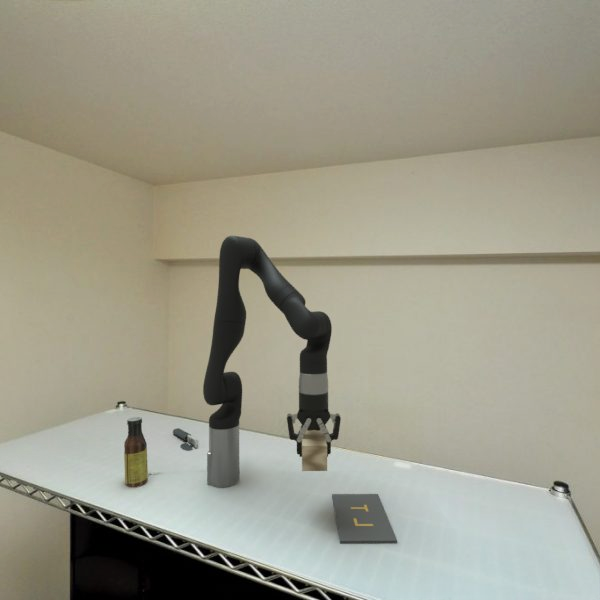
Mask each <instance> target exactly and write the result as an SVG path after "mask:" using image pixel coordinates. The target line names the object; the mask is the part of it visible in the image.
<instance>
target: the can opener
mask: <svg viewBox="0 0 600 600" xmlns="http://www.w3.org/2000/svg"><path fill="white" fill-rule="evenodd" d="M172 433H173V434H174V435H175V436H177V437H178V438H180V439H183V441H184V442H183V443H181V444H180V449H181V450H183V451H187V452H190V451H193V450H194V449H198V448H199V439H197V438H195V437H193V436H192V434H190V433H189V432H187V431H185V430H183V429H182V428H179V427H177V428H174V429H173V430H172ZM193 448H194V449H193Z"/></svg>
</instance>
